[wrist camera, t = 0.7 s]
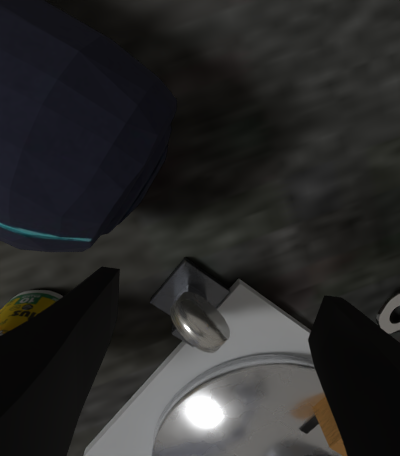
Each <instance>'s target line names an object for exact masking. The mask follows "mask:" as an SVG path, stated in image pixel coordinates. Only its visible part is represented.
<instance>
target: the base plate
mask: <svg viewBox="0 0 400 456" xmlns="http://www.w3.org/2000/svg"><path fill="white" fill-rule="evenodd" d="M230 292H231V293H230V294H229V295H228V296H227V297H226V298H225V299H224V300H223V302H222V303H221V304H220V305H219V306H218V307H217V308H216V309H217V310H218V311H219V312H220V313H221V315H222V316H223V317H224V319H225V321H226V322H227V324H228V327H229V329H230V337H229V339H228V340H227V341H226V342H225V343H224V344H223V345H222V346H221V347H220V348H219V349H218V350H217V351H216V352H214V353H207V352H204V351H201V350H199V349H198V348H196V347H192V346H190V345H189V344H187V343H185V342H184V341H182V342H181V343H180V344H179V345H178V346H177V347H176V348H175V350H174V351H173V352H172V353H171V354H170V355H169V356H168V357H167V358H166V360H165V361H164V362H163V363H162V364H161V365H160V366H159V367H158V368H157V370H156V371H155V372H154V373H153V374H152V375H151V376H150V377H149V378H148V380H147V381H146V382H145V383H144V384H143V385H142V386H141V387H140V388H139V390H138V391H137V392H136V393H135V394H134V395H133V396H132V397H131V398H130V400H129V401H128V402H127V403H126V404H125V405H124V406H123V407H122V408H121V410H120V411H119V412H118V413H117V414H116V415H115V416H114V417H113V418H112V420H111V421H110V422H109V423H108V424H107V425H106V426H105V427H104V428H103V430H102V431H101V432H100V433H99V434H98V435H97V436H96V437H95V438H94V440H93V441H92V442H91V443H90V444H89V445H88V446H87V447H86V449H85V452H84V456H152V448H153V439H154V433H155V429H156V425H157V423H158V420H159V418H160V415H161V414H162V412H163V410H164V409H165V407H166V405H167V404H168V403H169V401H170V400H171V399H172V398H173V397H174V395H175V394H176V393H177V392H178V391H179V390H181V389H182V388H183V387H184V386H185V385H186V384H187V383H189V382H190V381H192V380H193V379H194V378H196V377H197V376H199V375H201V374H202V373H204V372H206V371H208V370H210V369H212V368H214V367H216V366H219V365H221V364H224V363H226V362H230V361H233V360H237V359H240V358H245V357H251V356H256V355H270V354H278V355H292V356H299V357H304V358H308V359H312V356H311V352H310V347H309V343H308V338H309V335H310V332H311V330H310V329H308V328H307V327H306V326H304V325H303V324H301V323H300V322H299V321H297V320H296V319H295V318H293V317H292V316H290V315H289V314H288V313H286V312H285V311H283V310H282V309H281V308H279V307H278V306H276V305H275V304H274V303H272V302H271V301H269V300H268V299H267V298H265V297H264V296H262V295H261V294H260V293H258V292H257V291H256V290H254V289H253V288H251V287H250V286H249V285H247V284H246V283H244V282H243V281H242V280H240V279H239V278H238V280H237V281H236V282H235V283H234V284H233V285H232V286H231V287H230Z"/></svg>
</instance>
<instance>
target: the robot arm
mask: <svg viewBox="0 0 400 456" xmlns="http://www.w3.org/2000/svg"><path fill="white" fill-rule="evenodd" d="M119 273H120V269H115V268H107V267H101V268H99V269H98V270H97V271H95V272H94V273H93V274H92V275H90V276H89V277H88V278H87V279H85V280H84V281H83V282H82V283H80V284H79V285H78V286H77V287H75V288H74V289H73V290H71V291H70V292H69V293H67V294H66V295H65V296H63V297H62V298H61V299H59V300H58V301H56V302H55V303H54V304H52V305H51V306H49V307H48V308H46V309H45V310H43V311H42V312H40V313H39V314H37V315H36V316H34V317H33V318H31V319H29V320H28V321H26V322H24V323H23V324H21V325H19V326H17V327H15V328H14V329H12V330H10V331H8V332H6V333H5V334H3V335H1V336H0V456H66V455H67V452H68V449H69V446H70V443H71V440H72V437H73V434H74V430H75V427H76V424H77V421H78V418H79V416H80V413H81V410H82V408H83V405H84V403H85V401H86V398H87V396H88V393H89V391H90V389H91V386H92V384H93V382H94V379H95V377H96V375H97V372H98V370H99V368H100V365H101V363H102V360H103V358H104V356H105V353H106V351H107V348H108V346H109V344H110V340H111V337H112V334H113V330H114V327H115V323H116V319H117V313H118V293H119ZM308 343H309V347H310V352H311V356H312V360H313V364H314V367H315V370H316V373H317V376H318V378H319V381H320V383H321V386H322V389H323V391H324V394H325V396H326V399H327V401H328V404H329V407H330V409H331V412H332V414H333V417H334V419H335V422H336V424H337V427H338V430H339V432H340V435H341V438H342V441H343V444H344V446H345V450H346V453H347V456H400V343H399V342H398V341H397V340H395V339H394V338H393V337H392V336H390V335H389V334H388V333H387V332H385V331H384V330H383V329H381V328H380V327H379V326H378V325H377V324H375V323H374V322H373V321H372V320H370V319H369V318H368V317H367V316H365V315H364V314H363V313H362V312H360V311H359V310H358V309H356V308H355V307H354V306H353V305H351V304H350V303H348V302H347V301H346V300H344V299H343V298H340V297H332V296H324V298H323V301H322V304H321V306H320V309H319V311H318V314H317V317H316V319H315V322H314V325H313V327H312V330H311V332H310V335H309V338H308Z"/></svg>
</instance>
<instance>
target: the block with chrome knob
mask: <svg viewBox="0 0 400 456" xmlns="http://www.w3.org/2000/svg"><path fill="white" fill-rule="evenodd" d="M230 293H231V292H230V288H228V287H227V286H225V285H224V284H223V283H221V282H220V281H218V280H217V279H215V278H214V277H213V276H211V275H210V274H208V273H207V272H206V271H204V270H203V269H201V268H200V267H198V266H197V265H196V264H194V263H193V262H191V261H190V260H188V259H187V258H186V257H185V258H184V259H183V260H182V261H181V262H180V264H179V265H178V266H177V267H176V268H175V270H174V271H173V272H172V273H171V274H170V276H169V277H168V278H167V279H166V281H165V282H164V283H163V284H162V285H161V287H160V288H159V289H158V290H157V291H156V293H155V294H154V295H153V296H152V297H151V300H150V303H151V304H153V305H154V306H156V307H158V308H159V309H161V310H162V311H164V312H165V313H167V314H168V315H170V316H171V319H172V321H173V322H172V334H173V335H174V336H176V337H177V338H179V339H181V340H182V341H184V342H185V343H187V344H189V345H190V346H192V347H196V348H198V349H199V350H201V351H204V352H207V353H214V352H216V351H217V350H218V349H219V348H220V347H221V346H222V345H223V344H224V343H225V342H226V341H227V340H228V339H229V337H230V329H229V327H228V324H227V322H226V321H225V319H224V317H223V316H222V315H221V313H220V312H219V311H218V310H217V309H216V308H217V307H218V306H219V305H220V304H221V303H222V302H223V300H224V299H225V298H226V297H227V296H228V295H229V294H230Z"/></svg>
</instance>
